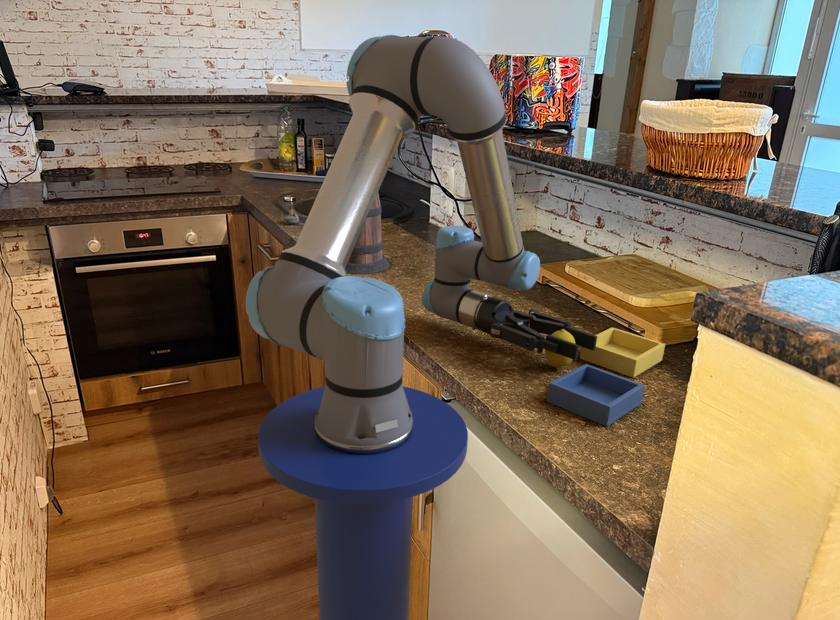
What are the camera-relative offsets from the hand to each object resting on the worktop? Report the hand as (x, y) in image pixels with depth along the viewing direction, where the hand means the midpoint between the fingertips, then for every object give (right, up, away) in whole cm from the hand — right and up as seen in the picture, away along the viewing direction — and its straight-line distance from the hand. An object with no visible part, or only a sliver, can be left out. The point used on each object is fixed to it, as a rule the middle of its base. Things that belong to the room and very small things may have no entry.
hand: (586, 347), depth 123 cm
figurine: (-72, +43, +103) cm, 133 cm away
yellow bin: (+10, -2, +11) cm, 14 cm away
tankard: (-47, +25, +67) cm, 85 cm away
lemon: (-4, -4, +6) cm, 8 cm away
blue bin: (0, -9, -6) cm, 11 cm away
